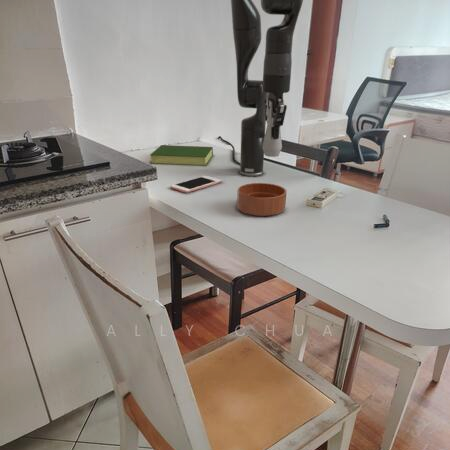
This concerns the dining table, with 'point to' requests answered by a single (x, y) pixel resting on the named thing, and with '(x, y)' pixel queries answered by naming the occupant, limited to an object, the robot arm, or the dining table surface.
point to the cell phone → (195, 184)
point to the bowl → (261, 199)
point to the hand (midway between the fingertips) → (272, 139)
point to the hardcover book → (182, 155)
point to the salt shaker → (274, 145)
